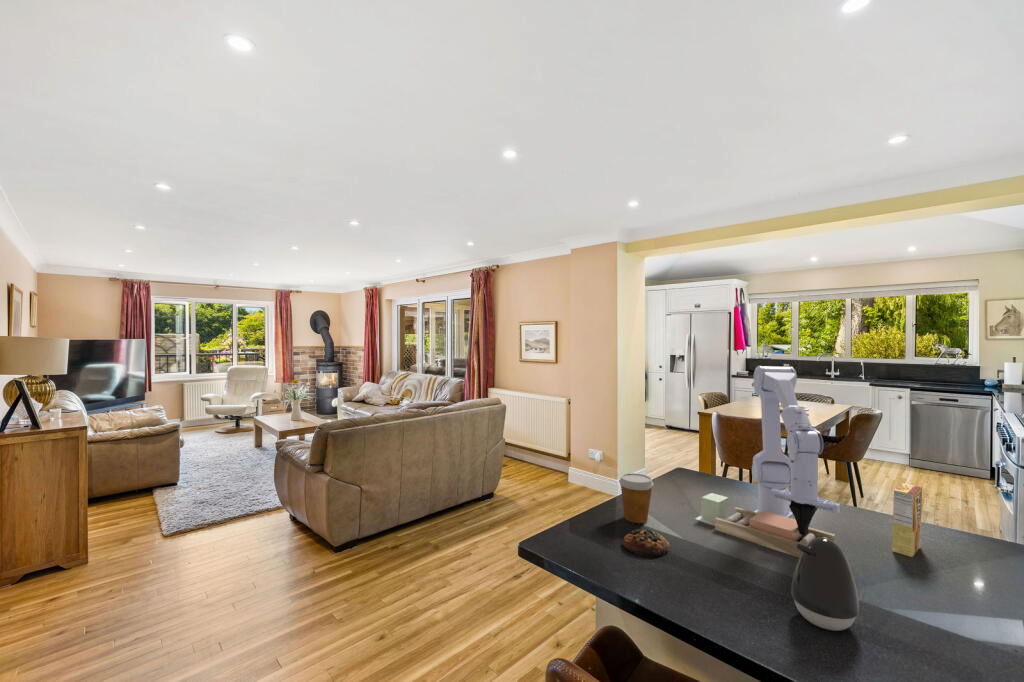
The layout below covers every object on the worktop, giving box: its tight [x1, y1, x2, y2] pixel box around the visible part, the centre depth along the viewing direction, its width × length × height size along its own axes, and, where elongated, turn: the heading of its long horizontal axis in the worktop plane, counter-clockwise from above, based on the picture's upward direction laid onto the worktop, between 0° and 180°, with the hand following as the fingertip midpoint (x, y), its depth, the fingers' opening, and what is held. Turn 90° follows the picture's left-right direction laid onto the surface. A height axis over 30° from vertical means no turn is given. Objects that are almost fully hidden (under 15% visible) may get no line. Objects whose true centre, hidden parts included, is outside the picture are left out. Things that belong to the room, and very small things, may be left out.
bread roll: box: [622, 529, 671, 558], centre depth 112 cm, size 11×11×5 cm
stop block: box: [700, 492, 730, 522], centre depth 130 cm, size 6×5×6 cm
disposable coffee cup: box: [618, 472, 654, 524], centre depth 129 cm, size 10×10×12 cm
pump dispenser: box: [790, 537, 860, 631], centre depth 83 cm, size 10×10×15 cm
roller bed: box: [694, 506, 836, 559], centre depth 120 cm, size 13×31×3 cm, turn 41°
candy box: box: [891, 482, 923, 558], centre depth 112 cm, size 9×4×15 cm, turn 129°
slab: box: [748, 511, 801, 541], centre depth 117 cm, size 9×10×2 cm
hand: (803, 533), depth 112 cm, fingers closed
